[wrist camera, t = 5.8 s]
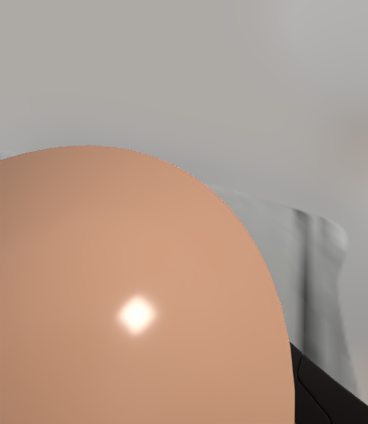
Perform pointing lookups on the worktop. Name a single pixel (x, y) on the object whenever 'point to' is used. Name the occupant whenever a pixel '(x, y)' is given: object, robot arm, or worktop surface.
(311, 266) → the worktop surface
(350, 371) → the worktop surface
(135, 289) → the peach cylinder
